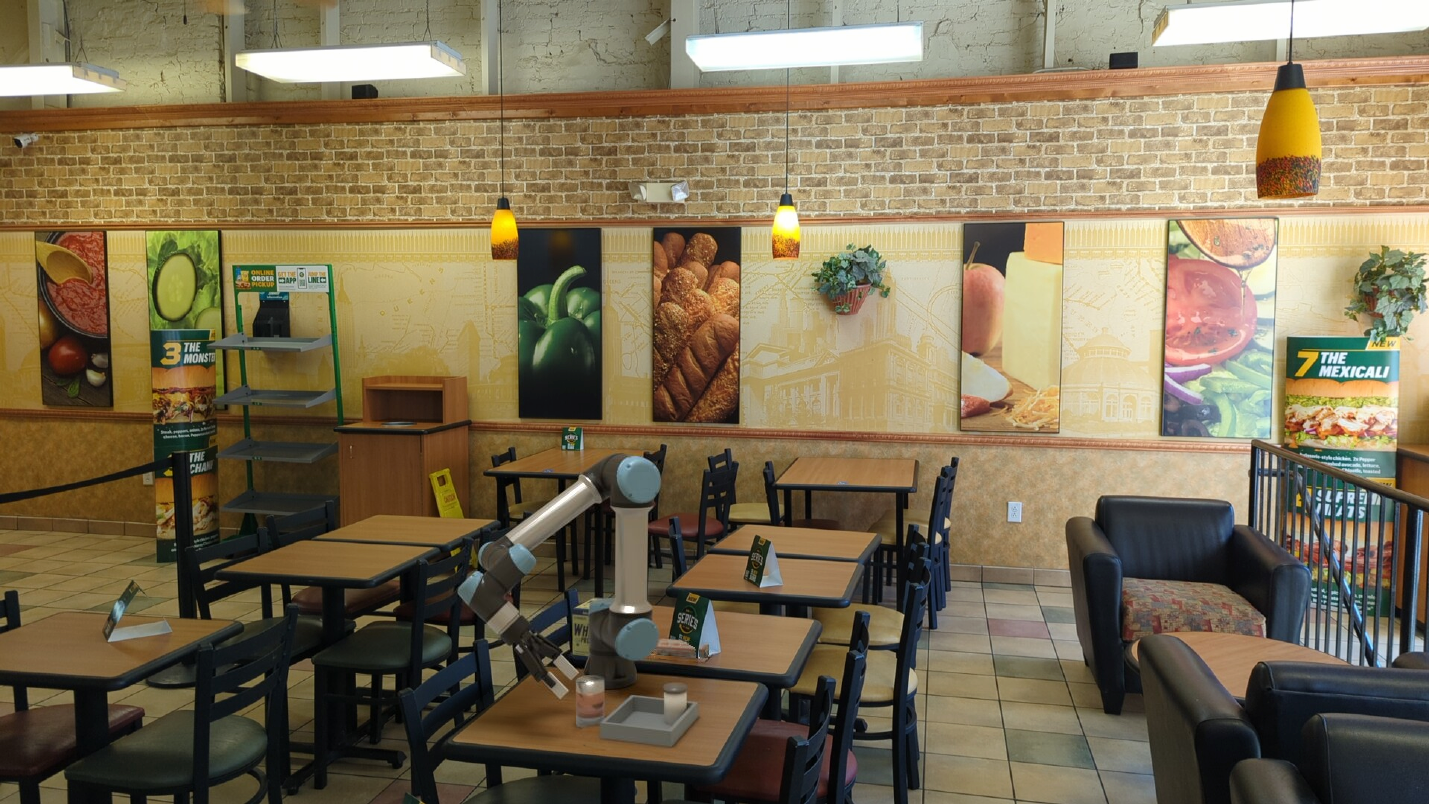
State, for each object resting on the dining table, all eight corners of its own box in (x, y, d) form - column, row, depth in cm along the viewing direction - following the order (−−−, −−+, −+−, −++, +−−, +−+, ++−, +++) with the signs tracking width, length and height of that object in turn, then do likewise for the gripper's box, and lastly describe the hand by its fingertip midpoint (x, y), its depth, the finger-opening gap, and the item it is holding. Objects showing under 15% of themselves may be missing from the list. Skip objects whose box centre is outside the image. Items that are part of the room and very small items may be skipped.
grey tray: (600, 741, 234) (599, 722, 234) (631, 712, 254) (631, 695, 253) (671, 750, 229) (671, 731, 229) (698, 720, 248) (698, 702, 248)
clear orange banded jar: (571, 726, 244) (571, 682, 243) (583, 716, 250) (583, 674, 250) (597, 730, 242) (597, 685, 241) (609, 719, 248) (608, 676, 248)
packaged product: (713, 639, 303) (705, 649, 293) (713, 655, 303) (705, 665, 294) (657, 635, 307) (647, 644, 298) (657, 650, 308) (647, 660, 298)
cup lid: (659, 692, 243) (659, 688, 243) (669, 684, 249) (669, 681, 249) (681, 695, 241) (681, 691, 241) (691, 687, 246) (691, 684, 246)
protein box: (571, 659, 297) (571, 608, 297) (595, 645, 312) (595, 596, 311) (603, 663, 294) (602, 611, 293) (625, 648, 308) (625, 599, 308)
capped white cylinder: (660, 724, 243) (660, 692, 243) (668, 716, 249) (668, 684, 248) (682, 726, 242) (682, 694, 241) (689, 718, 247) (689, 687, 247)
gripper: (511, 621, 258) (568, 679, 258) (485, 650, 233) (548, 714, 233) (531, 601, 257) (588, 659, 257) (507, 628, 232) (570, 692, 232)
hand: (569, 685), depth 245 cm, fingers open, 13 cm apart
